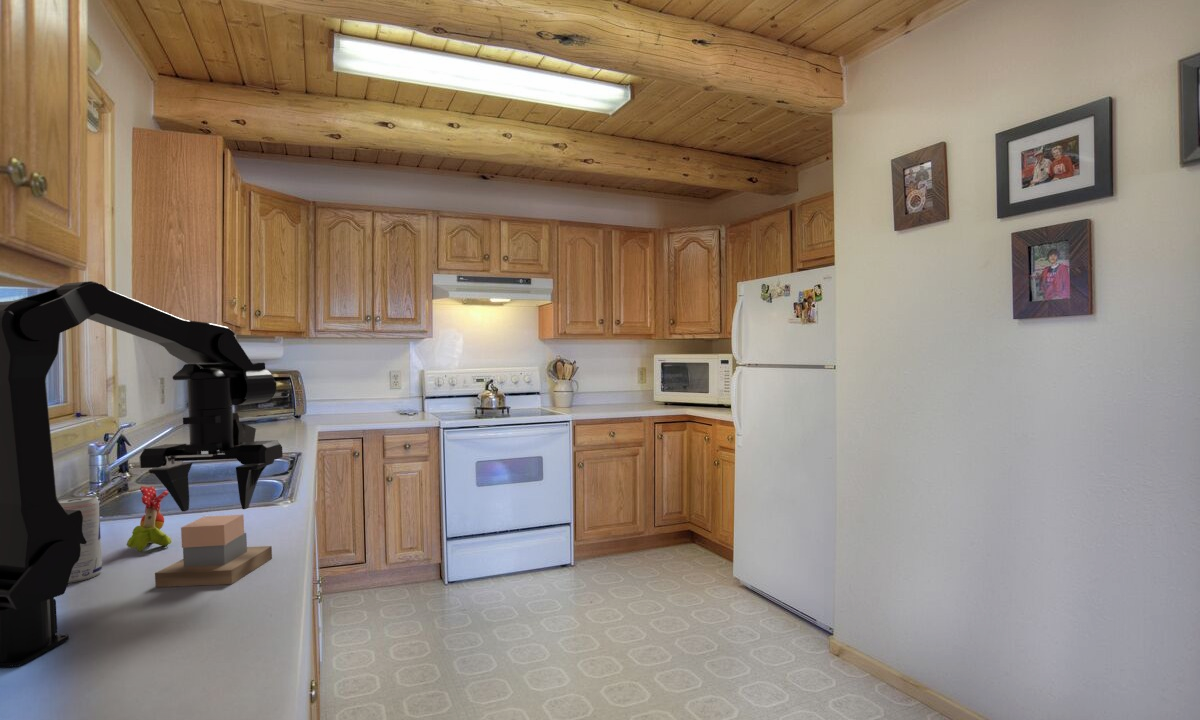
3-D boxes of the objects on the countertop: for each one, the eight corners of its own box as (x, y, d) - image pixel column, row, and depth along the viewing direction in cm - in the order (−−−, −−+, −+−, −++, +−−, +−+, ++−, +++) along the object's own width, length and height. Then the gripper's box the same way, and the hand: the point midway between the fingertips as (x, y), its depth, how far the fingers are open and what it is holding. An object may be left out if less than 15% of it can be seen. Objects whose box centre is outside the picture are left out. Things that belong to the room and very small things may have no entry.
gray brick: (224, 564, 91) (223, 544, 91) (183, 566, 91) (182, 546, 91) (247, 551, 97) (246, 532, 97) (208, 553, 97) (207, 534, 97)
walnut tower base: (231, 584, 88) (231, 570, 88) (155, 586, 88) (154, 573, 88) (272, 558, 99) (271, 546, 99) (204, 560, 99) (203, 548, 99)
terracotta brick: (224, 545, 91) (224, 524, 91) (181, 547, 90) (180, 527, 90) (244, 533, 97) (243, 514, 96) (204, 535, 96) (203, 516, 96)
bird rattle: (129, 558, 109) (125, 549, 102) (128, 497, 112) (125, 484, 105) (172, 551, 112) (171, 542, 105) (170, 492, 116) (169, 479, 109)
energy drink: (97, 568, 97) (94, 493, 97) (106, 575, 94) (102, 497, 94) (52, 578, 93) (49, 500, 93) (60, 586, 90) (56, 505, 90)
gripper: (297, 401, 102) (301, 495, 102) (184, 405, 101) (189, 499, 102) (260, 408, 91) (265, 512, 91) (134, 412, 90) (139, 517, 91)
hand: (215, 509), depth 94 cm, fingers open, 9 cm apart
